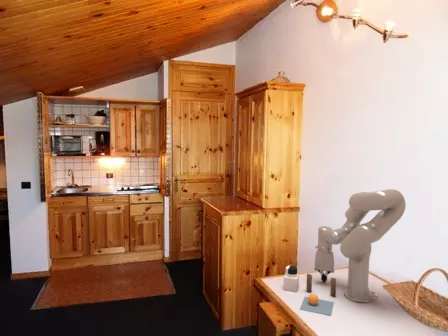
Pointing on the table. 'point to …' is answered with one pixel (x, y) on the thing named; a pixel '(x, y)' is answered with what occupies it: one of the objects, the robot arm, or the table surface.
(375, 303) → the table surface
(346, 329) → the table surface
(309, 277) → the post
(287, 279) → the medicine bottle
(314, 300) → the ball
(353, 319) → the table surface
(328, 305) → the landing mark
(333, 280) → the post
